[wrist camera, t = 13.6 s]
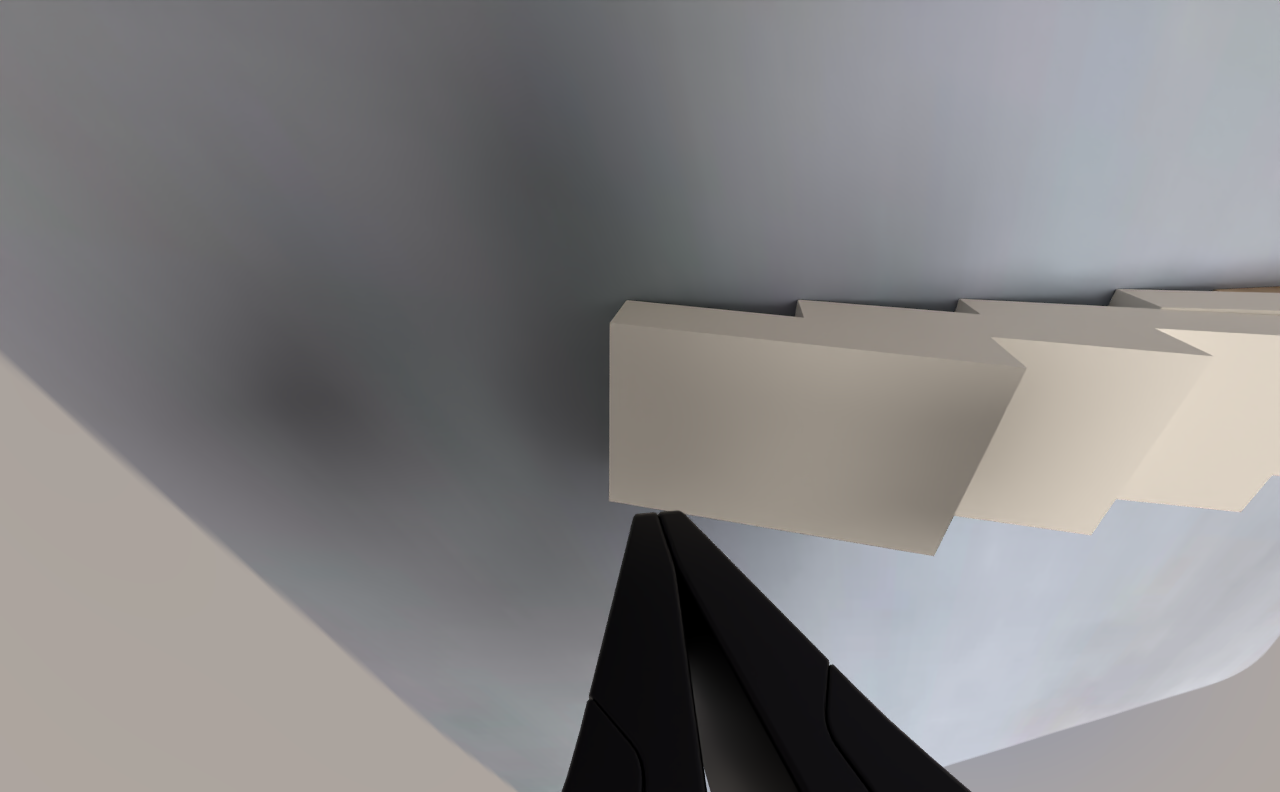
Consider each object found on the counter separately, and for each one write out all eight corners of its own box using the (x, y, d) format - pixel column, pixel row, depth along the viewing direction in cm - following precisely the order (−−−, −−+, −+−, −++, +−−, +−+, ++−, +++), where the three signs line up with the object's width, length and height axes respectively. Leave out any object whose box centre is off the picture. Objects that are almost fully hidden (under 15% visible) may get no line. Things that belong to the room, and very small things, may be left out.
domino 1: (609, 323, 10) (1026, 368, 9) (626, 300, 11) (989, 335, 10) (609, 501, 12) (934, 556, 11) (623, 464, 14) (913, 510, 13)
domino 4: (1162, 307, 12) (1546, 317, 11) (1116, 288, 13) (1454, 297, 12) (1075, 461, 15) (1382, 482, 14) (1044, 433, 16) (1321, 450, 15)
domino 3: (986, 318, 11) (1385, 341, 10) (959, 298, 13) (1308, 316, 12) (924, 478, 14) (1240, 512, 13) (907, 447, 15) (1191, 475, 14)
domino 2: (804, 320, 11) (1214, 355, 9) (798, 299, 12) (1155, 328, 11) (769, 489, 13) (1090, 534, 12) (767, 455, 15) (1055, 493, 13)
